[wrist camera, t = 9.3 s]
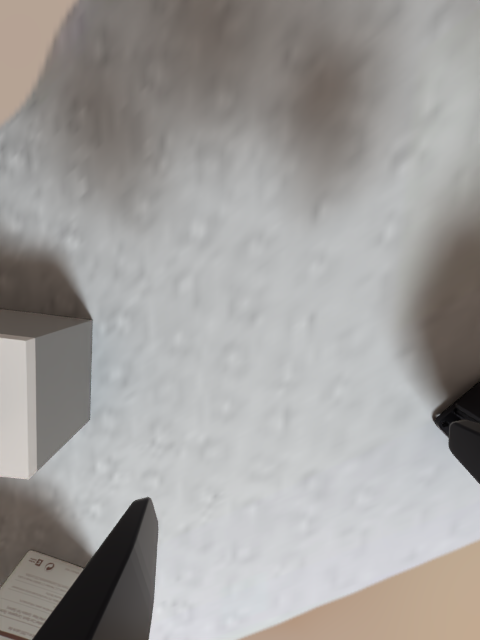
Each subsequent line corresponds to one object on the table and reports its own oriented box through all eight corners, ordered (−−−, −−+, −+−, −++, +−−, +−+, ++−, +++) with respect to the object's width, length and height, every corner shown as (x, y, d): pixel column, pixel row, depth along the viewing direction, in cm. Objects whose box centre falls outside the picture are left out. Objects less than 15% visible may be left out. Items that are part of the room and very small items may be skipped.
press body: (92, 320, 19) (26, 340, 13) (89, 419, 20) (28, 479, 15) (-20, 306, 19) (-138, 321, 13) (-14, 408, 20) (-119, 463, 14)
